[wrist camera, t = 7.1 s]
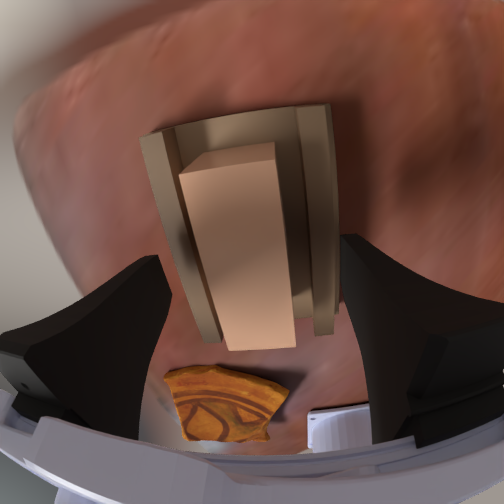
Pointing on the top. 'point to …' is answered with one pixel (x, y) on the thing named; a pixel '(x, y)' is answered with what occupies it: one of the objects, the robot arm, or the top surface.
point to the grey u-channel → (293, 197)
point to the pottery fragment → (223, 403)
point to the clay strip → (243, 243)
